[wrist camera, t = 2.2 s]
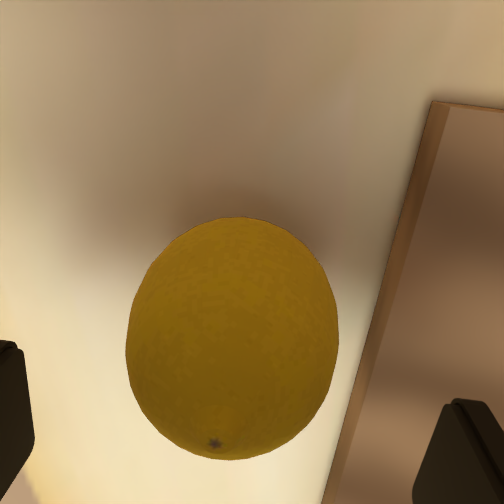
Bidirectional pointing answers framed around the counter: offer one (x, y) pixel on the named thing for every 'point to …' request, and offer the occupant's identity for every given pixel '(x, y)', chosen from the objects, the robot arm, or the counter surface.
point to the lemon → (232, 339)
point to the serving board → (431, 310)
